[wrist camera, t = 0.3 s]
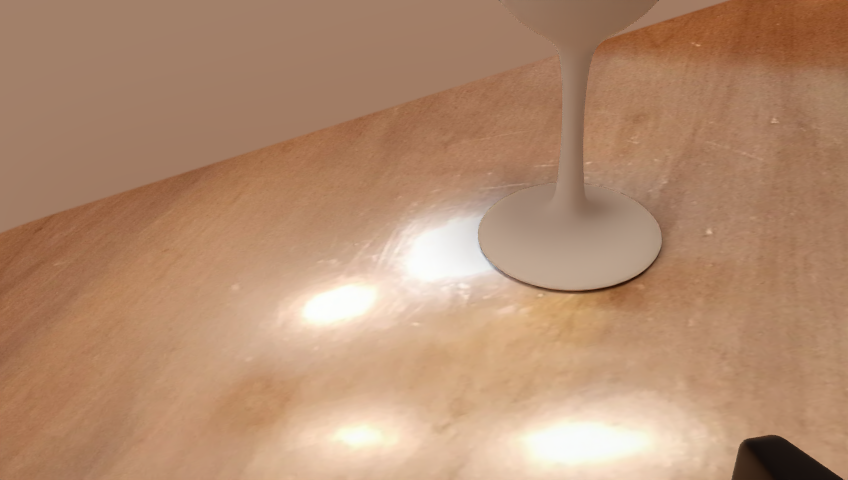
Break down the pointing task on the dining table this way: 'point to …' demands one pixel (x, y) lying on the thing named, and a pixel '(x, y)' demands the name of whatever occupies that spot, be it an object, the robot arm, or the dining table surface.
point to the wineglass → (572, 173)
